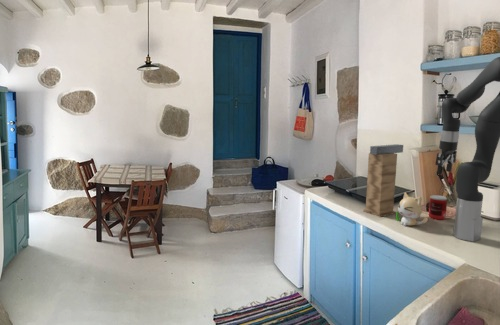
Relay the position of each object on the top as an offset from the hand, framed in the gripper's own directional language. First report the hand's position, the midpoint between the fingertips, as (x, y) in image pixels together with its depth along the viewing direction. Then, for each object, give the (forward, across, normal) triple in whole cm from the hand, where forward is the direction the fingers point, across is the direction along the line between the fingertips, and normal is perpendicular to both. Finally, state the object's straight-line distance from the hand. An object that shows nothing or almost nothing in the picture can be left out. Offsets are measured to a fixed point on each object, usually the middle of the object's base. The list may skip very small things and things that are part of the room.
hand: (444, 172), depth 167 cm
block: (-7, -12, +25) cm, 28 cm away
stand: (+25, -16, +23) cm, 37 cm away
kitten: (+24, -21, +3) cm, 32 cm away
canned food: (+25, +1, +1) cm, 25 cm away
